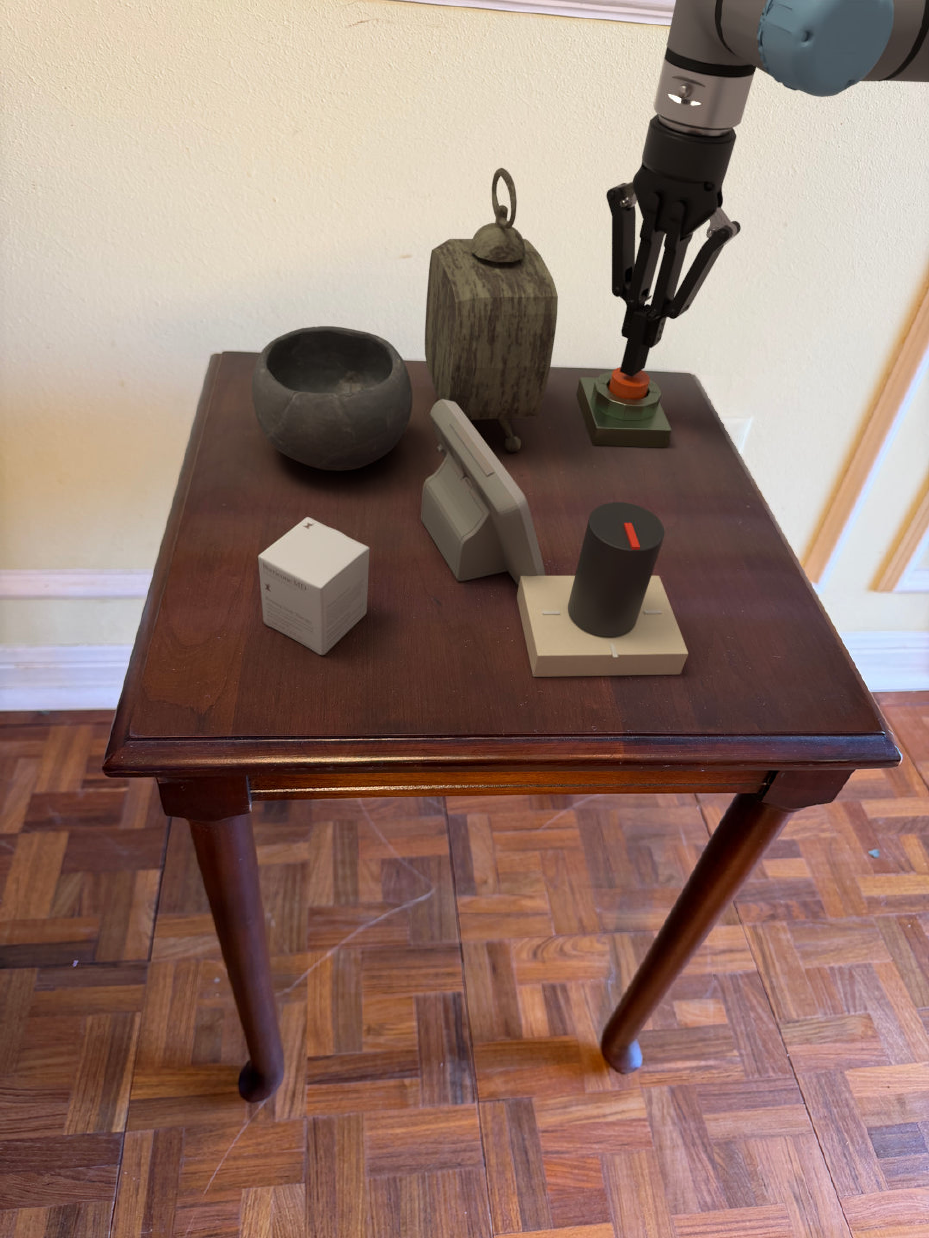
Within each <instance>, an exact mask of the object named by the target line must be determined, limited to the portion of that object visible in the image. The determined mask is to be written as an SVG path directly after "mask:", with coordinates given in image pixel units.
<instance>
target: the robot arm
mask: <svg viewBox="0 0 929 1238" xmlns="http://www.w3.org/2000/svg"><path fill="white" fill-rule="evenodd" d="M756 69H758V70H760V71H762V72H763V73H765V74H767V75H768V76H770V77H772V78H773V80H774V81H775V82H777V83H781V84H782V85H783V87H785V88H787V89H790V90H792V91H794V92H795V91H800V92H803V93H805V94H807V95H810V96H812V97H819V98H826V97H827V98H828V97H833V96H837V95H839V94H840V93H842V92H844V91H846V90H847V89H850V88H851V87H853V86H856V85H857V84H858V83H860V82H907V83H908V82H910V83H929V0H675V3H674V8H673V13H672V17H671V23H670V27H669V32H668V37H667V41H666V48H665V53H664V56H663V62H662V66H661V71H660V75H659V79H658V83H657V87H656V93H655V98H654V101H653V110H654V112H655V115H653V117H652V118H650V120H649V123H648V128H647V133H646V136H645V140H644V141H645V142H644V145H643V151H642V154H641V164H640V166H639V168H638V170H637V172H636V173H635V174H634V176H633V178H632V181H630V182H622V183H620V184H618V185H616V186H613V187H611V188H609V189H608V190H607V191H606V195H605V196H606V200H607V201H606V202H607V204H608V208H609V211H610V214H611V293H612V295H613V296H614V297H616V298H620V299H621V300H623V302H624V303H625V306H626V308H625V314H624V317H623V322H622V326H621V330H620V332H621V337H623V338H625V339H627V340H626V343H625V348H624V352H623V357H622V360H621V363H620V367H621V368H620V372H622V373H624V374H626V375H628V376H631V377H633V376H634V375H636V374H637V373H638V372H640V371H641V370H642V371H643V370H644V369H645V368H646V365H647V361H648V357H649V353H650V349H652V348H654V347H655V346H656V345H658V344H659V343H660V341H661V340H662V337H663V333H664V329H665V326H666V322H667V319H668V318H669V319H671V320H675V319H677V318H678V317H680V316H681V315H683V314H685V312H688V310H689V309H690V307H691V306H692V304H693V303H694V301H695V298H696V297H697V295H698V293H699V292H700V290H701V288H702V286H703V285H704V282H705V281H706V279H707V277H708V276H709V274H710V272H711V270H712V268H713V267H714V265H715V263H716V261H717V259H718V258H719V256H720V254H721V253H722V251H723V249H724V247H725V245H727V244H728V243H729V242H730V241H732V239H734V238H735V237H736V236H737V235H738V234H739V233H741V229H742V228H741V227H742V226H741V224H740V222H738V221H736V220H732V221H731V219H730V218H729V217H728V215H727V214H726V213H725V211H724V210H723V208H722V206H723V204H724V196H723V185H724V181H725V178H726V175H727V172H728V169H729V165H730V162H731V158H732V154H733V152H734V147H735V145H736V141H737V134H736V130H735V128H736V127H737V126H739V125H740V124H741V123H742V120H743V116H744V112H745V108H746V105H747V101H748V98H749V94H750V90H751V87H752V83H753V79H754V76H755V73H756V71H757V70H756ZM636 204H638V208H639V210H640V214H641V218H642V222H641V227H640V231H639V238H640V241H639V245H638V249H637V254H636V227H637V226H636V223H637V221H636V217H637V216H636V215H637V214H636V211H637V210H636ZM708 221H709V226H708V228H707V229H706V235H705V236H706V239H707V240H706V241H705V242H704V243H703V244H702V246H701V247H700V249H699V251H698V252H697V254H696V256H695V258H694V260H693V261H692V263H691V265H690V267H689V268H688V271H687V273H686V275H685V276H684V278H683V280H682V282H681V284H680V285H679V281H680V277H681V273H682V270H683V265H684V263H685V258H686V255H687V251H688V247H689V244H690V243H691V241H692V239H693V237H694V233H695V232H696V231H697V230H698V229H700V228H701V227H702V226H703V225H704V224H705V223H706V222H708ZM662 246H663V247H664V249H663V253H662V257H661V262H660V266H659V269H658V274H657V278H656V281H655V285H654V289H653V294H652V295H650V293H651V289H652V285H653V281H654V277H655V273H656V270H657V265H658V263H659V258H660V254H661V249H662ZM678 285H679V287H678ZM677 288H678V289H677ZM650 299H651V302H650V304H649V303H646V302H647V301H649V300H650Z"/></svg>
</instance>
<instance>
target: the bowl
mask: <svg viewBox="0 0 929 1238" xmlns="http://www.w3.org/2000/svg"><path fill="white" fill-rule="evenodd" d="M409 374H410V373H409V371H408V368H407V365H406V363H405V361H404V359H403V357H402V356H401V354H400V353H399V352H398V350H397V349H396V348H395V347H394V345H393V344H392V343H391V342H389V340H386V339H384V338H383V337H381V336H380V335H379V336H378V335H376V334H373V333H370V332H367V331H363V330H358V329H353V328H349V327H348V328H347V327H341V326H335V325H334V326H333V325H320V326H307V327H301V328H298V329H295V330H291V331H289V332H286V333H285V334H282V335H280V336H277V337H276V338H274V339H272V340H271V341H270V342H269V343H267V344H266V346H264V348H263V349H262V350H261V352H260V353H259V356H258V358H257V360H256V363H255V365H254V369H253V372H252V378H251V396H252V403H253V410H254V414H255V417H256V419H257V422H258V424H259V427H260V429H261V431H262V432H263V434H264V437H265V439H266V441H268V442H269V444H270V445H271V446H273V448H274V449H276V450H277V451H278V452H280V453H281V454H283V455H285V456H287V457H288V458H290V459H292V460H295V461H297V462H299V463H300V464H303V465H306V466H309V467H312V468H316V469H319V470H323V471H337V472H339V471H341V472H342V471H343V472H344V471H351V470H352V471H353V470H356V469H360V468H363V467H365V466H368V465H370V464H372V463H374V462H376V461H377V460H379V459H381V458H383V457H384V456H385V455H387V454H388V453H389V452H390V451H392V449H394V447H395V446H397V444H398V442H399V441H400V439H401V438H402V437H403V435H404V433H405V432H406V429H407V428H408V425H409V422H410V419H411V414H412V410H413V388H412V383H411V379H410V375H409Z"/></svg>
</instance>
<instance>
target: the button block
mask: <svg viewBox="0 0 929 1238" xmlns="http://www.w3.org/2000/svg"><path fill="white" fill-rule="evenodd" d="M613 371H614V370H610V371H608V372H604V373H601V374H599V376H598V377H588V376H587V377H584V376H582V377H581V376H580V377H579V380H578V385H577V389H576V397H577V400H578V404H579V407H580V410H581V412H582V413H581V414H582V415H583V419H584V423H585V425H586V428H587V431H588V434H589V437H590V441H591V444H592V446H601V447H602V446H605V447H633V448H634V447H635V448H636V447H637V448H638V447H639V448H668V445H669V441H670V437H671V434H672V431H673V430H672V428H671V426H670V423H669V420H668V418H667V415H666V414H665V412H664V410H663V407H662V405H661V403H660V402H661V401H660V400H661V398H662V391H661V389H660V387H659V385H658V384H657V383H656V382H654V381H653V380H651V379H650V382H649V386H648V390H647V393H646V396H645V397H644V398H642V399H639V400H634V399H624V398H621V397H618V396H616V395H615V394H613V393H612V392H610V391H609V384H610V380H611V376H612V372H613Z"/></svg>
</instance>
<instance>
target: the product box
mask: <svg viewBox="0 0 929 1238" xmlns="http://www.w3.org/2000/svg"><path fill="white" fill-rule="evenodd" d="M370 550H371V549H370V547H369V546H368V545H366V544H363V543H361V542H359V541H358V540H355V539H353V538H351V537H349V536H347V535H346V534H344V533H343V532H341V531H340V530H338V529H335V528H333V527H330V526H327V525H325V524H323V523H322V522H319V521H317V520H315V519H314V518H312V517H309V516H306V517H305V518H304V519H302V520H301V521H300V522H299V523H298V524H296V525H295V526H293V528H291V529H290V530H289V531H288V532H286V533H285V534H283V536H281V537H280V538H279V539H277V541H275V542H273V543H272V544H271V545H269V547H267V548H266V549H265V550H264V551H262V552H261V553H259V554H258V556H257V559H258V561H257V562H258V573H259V584H260V595H261V608H262V621H263V623H264V624H265V625H266V627H267V626H268V627H269V628H271V629H273V630H276V631H278V632H279V633H281V634H283V635H284V636H287V637H289V638H291V639H293V640H294V641H296V642H297V643H299V644H301V645H303V646H305V647H306V648H308V649H309V650H311V651H312V652H314V653H316V654H318V655H319V656H325V655H326V654H327V653H328V652H329V651H330V650H331V649H332V648H333V647H334V646H335V645H336V644H337V643H338V642H339V641H340V640H341V639H343V637H344V636H345V635H346V634H347V633H348V632H349V631H350V630H351V629H352V628H353V627H355V625H356V624H358V622H360V621H361V620H362V619H363V618H364V616H366V615H367V614H368V613H367V611H368V595H369V573H370V571H369V570H370Z"/></svg>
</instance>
